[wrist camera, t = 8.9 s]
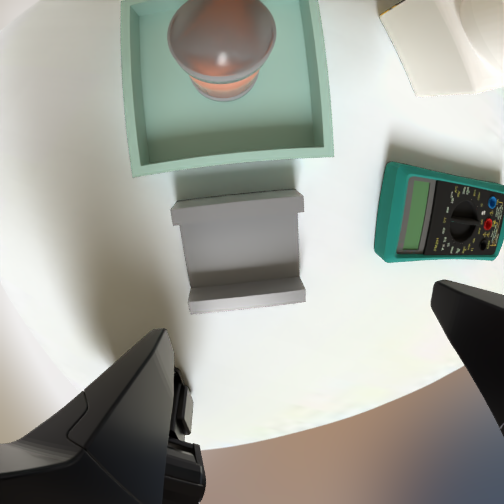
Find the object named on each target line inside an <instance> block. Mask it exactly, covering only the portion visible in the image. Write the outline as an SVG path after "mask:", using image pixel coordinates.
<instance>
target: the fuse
mask: <svg viewBox="0 0 504 504" xmlns="http://www.w3.org/2000/svg"><path fill="white" fill-rule="evenodd" d="M167 41H168V46H169V50H170V52H171V54H172V56H173V57H174V59H175V60H176V62H177V63H178V64H179V66H180V67H181V68H182V69H183V70H184V71H185V72H186V73H187V74H188V75H189V76H190V79H191V81H192V83H193V85H194V86H195V88H196V89H197V91H198V92H199V93H200V94H201V95H203V96H204V97H206V98H208V99H210V100H213V101H217V102H230V101H234V100H237V99H240V98H241V97H243V96H244V95H246V94H247V93H248V92H249V91H250V90H251V89H252V87H253V86H254V84H255V82H256V80H257V78H258V74H259V70H260V68H261V67H262V66H263V65H264V63H265V62H266V60H267V59H268V57H269V55H270V53H271V51H272V49H273V47H274V44H275V41H276V24H275V21H274V18H273V16H272V14H271V12H270V11H269V10H268V8H267V7H266V6H265V5H264V4H263V3H262V2H261V1H259V0H188V1H187V2H185V3H184V4H183V5H182V6H181V7H180V8H179V9H178V10H177V11H176V13H175V14H174V15H173V17H172V19H171V21H170V24H169V27H168V32H167Z"/></svg>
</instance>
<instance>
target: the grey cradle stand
mask: <svg viewBox="0 0 504 504" xmlns="http://www.w3.org/2000/svg"><path fill="white" fill-rule="evenodd" d="M298 212H304V199H303V195H302V194H300V193H299V192H298V191H297V190H296V189H288V190H275V191H264V192H253V193H243V194H233V195H224V196H215V197H206V198H198V199H190V200H182V201H177V202H176V203H175V204H174V206H173V207H172V208H171V216H172V222H173V226H174V225H180V231H181V237H182V243H183V248H184V254H185V260H186V265H187V270H188V276H189V281H190V286H191V290H190V294H189V299H188V305H189V310H190V314H200V313H211V312H222V311H232V310H242V309H251V308H260V307H269V306H277V305H285V304H293V303H301V302H305V287H304V285H303V283H302V281H301V279H300V277H299V244H298V215H297V213H298Z"/></svg>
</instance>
